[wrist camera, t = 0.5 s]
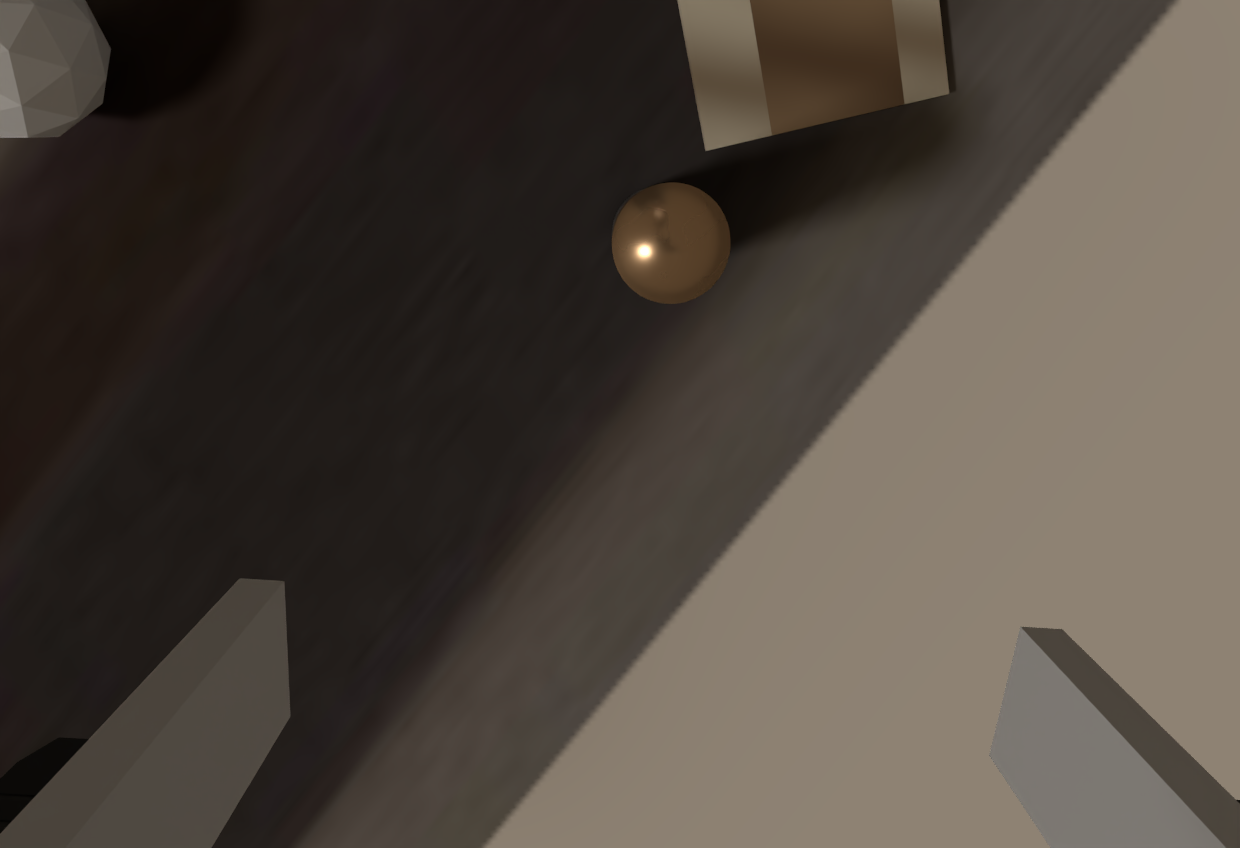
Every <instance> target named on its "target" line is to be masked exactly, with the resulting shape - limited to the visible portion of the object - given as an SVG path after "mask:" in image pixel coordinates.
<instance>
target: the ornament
mask: <svg viewBox="0 0 1240 848" xmlns="http://www.w3.org/2000/svg"><path fill="white" fill-rule="evenodd" d="M110 52H111V48H110V46H109V44H108V42H107V40H106V38H105V36H104V35H103V33H102V31H101V29H100V27H99V25H98V23H97V21H96V19H95V17H94V15H93V14H92V12H91V10H90V8H89V6H88V4H87V2H86V0H0V138H34V137H60V136H61V135H62V134H64V133H65V132H66V131H67V130H69V129H70V128H71V127H73V126H74V125H75V124H77V123H78V122H79V121H80V120H82V119H83V118H84V117H86V116H87V115H88V114H90V113H91V112H92V111H94V110H95V109H96V108H97V107H99V106H100V105H101V104H103V98H104V92H105V85H106V78H107V72H108V65H109V59H110Z"/></svg>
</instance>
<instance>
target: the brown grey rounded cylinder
mask: <svg viewBox="0 0 1240 848" xmlns="http://www.w3.org/2000/svg"><path fill="white" fill-rule="evenodd" d="M612 252H613V258H614V261H615V265H616V267H617V270H618V272H619V274H620V275H621V277H622V279H623V280H624V281H625V282H626V284H627V285H628V286H629V287H630V288H631V289H632V290H633V291H635V292H636V293H637V294H639V295H641V296H642V297H644V298H646V299H649V300H651V301H654V302H658V303H665V304H676V303H682V302H686V301H689V300H692V299H694V298H697V297H698V296H700V295H702V294H703V293H705V292H706V291H707V290H709V289H710V288H711V287H712V286H713V285H714V284H715V283H716V281H717V280H718V279H719V277H720V276H721V274H722V273H723V271H724V269H725V266H726V264H727V261H728V257H729V253H730V231H729V227H728V223H727V220H726V218H725V215H724V214H723V212H722V210H721V208H720V207H719V206H718V204H717V203H716V202H715V201H714V200H713V199H712V198H711V197H710V196H709V195H707V194H706V193H705V192H703V191H702V190H700V189H698V188H696V187H693V186H691V185H687V184H683V183H675V182H671V183H661V184H657V185H654V186H651V187H648V188H645V189H642V190H640V191H638V192H635V193H634V194H632V195H631V196H629V197H628V198H627V199H626V200H625V201H624V202H623V203H622V204H621V206H620V207H619V209H618V211H617V213H616V215H615V218H614V221H613V226H612Z"/></svg>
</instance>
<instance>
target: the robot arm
mask: <svg viewBox="0 0 1240 848" xmlns="http://www.w3.org/2000/svg"><path fill="white" fill-rule="evenodd" d="M289 717H290V699H289V677H288V654H287V632H286V610H285V587H284V581H273V580H256V579H239V580H238V581H237V582H236V583H235V584H234V585H233V586H232V587H231V588H230V589H229V591H228V592H227V593H226V594H225V595H224V596H223V597H222V598H221V599H220V600H219V601H218V602H217V603H216V604H215V605H214V607H213V608H212V609H211V610H210V611H209V612H208V613H207V614H206V615H205V616H204V617H203V618H202V619H201V620H200V621H199V623H198V624H197V625H196V626H195V627H194V628H193V629H192V630H191V631H190V632H189V633H188V634H187V635H186V636H185V637H184V638H183V640H182V641H181V642H180V643H179V644H178V645H177V646H176V647H175V648H174V649H173V650H172V651H171V652H170V653H169V654H168V656H167V657H166V658H165V659H164V660H163V661H162V662H161V663H160V664H159V665H158V666H157V667H156V668H155V669H154V670H153V672H152V673H151V674H150V675H149V676H148V677H147V678H146V679H145V680H144V681H143V682H142V683H141V684H140V685H139V686H138V688H137V689H136V690H135V691H134V692H133V693H132V694H131V695H130V696H129V697H128V698H127V699H126V700H125V701H124V702H123V703H122V705H121V706H120V707H119V708H118V709H117V710H116V711H115V712H114V713H113V714H112V715H111V716H110V717H109V718H108V719H107V721H106V722H105V723H104V724H103V725H102V726H101V727H100V728H99V729H98V730H97V731H96V732H95V733H94V734H93V735H92V737H91V738H90V739H76V738H57V739H56V740H54V741H52V742H51V743H49V744H47V745H46V746H44V747H42V748H41V749H39V750H37V751H36V752H34V753H32V754H30V755H29V756H27V757H25V758H24V759H22V760H20V761H19V762H17V763H16V764H15V765H14V766H13V767H12V768H11V769H10V770H9V771H8V772H7V773H6V774H5V775H4V776H3V777H2V778H1V779H0V848H211V847H212V846H213V844H214V842H215V841H216V839H217V837H218V836H219V834H220V832H221V831H222V829H223V827H224V826H225V824H226V822H227V821H228V819H229V817H230V816H231V814H232V812H233V811H234V809H235V807H236V806H237V804H238V802H239V801H240V799H241V797H242V796H243V794H244V792H245V791H246V789H247V787H248V786H249V784H250V782H251V781H252V779H253V777H254V776H255V774H256V772H257V771H258V769H259V767H260V766H261V764H262V762H263V761H264V759H265V757H266V756H267V754H268V752H269V751H270V749H271V747H272V746H273V744H274V742H275V741H276V739H277V737H278V736H279V734H280V732H281V731H282V729H283V727H284V726H285V724H286V722H287V721H288V719H289ZM989 756H990V757H991V759H992V760H993V762H994V763H995V765H996V766H997V768H998V769H999V771H1000V772H1001V774H1002V775H1003V777H1004V778H1005V780H1006V781H1007V783H1008V784H1009V786H1010V787H1011V789H1012V790H1013V792H1014V793H1015V794H1016V796H1017V798H1018V799H1019V801H1020V802H1021V804H1022V805H1023V807H1024V808H1025V810H1026V811H1027V813H1028V814H1029V816H1030V817H1031V819H1032V820H1033V822H1034V823H1035V825H1036V826H1037V828H1038V829H1039V831H1040V832H1041V834H1042V835H1043V837H1044V838H1045V840H1046V841H1047V843H1048V844H1049V846H1050V847H1051V848H1240V800H1235V799H1234V798H1233V797H1232V796H1231V795H1230V794H1229V793H1228V792H1227V791H1226V790H1225V789H1224V788H1223V787H1222V786H1221V785H1220V784H1219V783H1218V782H1217V781H1216V780H1215V779H1214V778H1213V777H1212V776H1211V775H1210V774H1209V773H1208V772H1207V771H1206V770H1205V769H1204V768H1203V767H1202V766H1201V765H1200V764H1199V763H1198V762H1197V761H1196V760H1195V759H1194V758H1193V757H1192V756H1191V755H1190V754H1188V753H1187V751H1186V750H1184V749H1183V748H1182V747H1181V746H1180V745H1179V744H1178V743H1177V742H1176V741H1175V740H1174V739H1173V738H1172V737H1171V736H1170V735H1169V734H1168V733H1167V732H1166V731H1165V730H1164V729H1163V728H1162V727H1161V726H1160V725H1159V724H1158V723H1157V722H1156V721H1155V720H1154V719H1153V718H1152V717H1151V716H1150V715H1149V714H1148V713H1147V712H1146V711H1145V710H1144V709H1143V708H1142V707H1141V706H1139V704H1138V703H1137V702H1136V701H1135V700H1134V699H1133V698H1132V697H1130V696H1129V695H1128V694H1127V693H1126V692H1125V691H1124V690H1123V689H1122V688H1121V687H1120V686H1119V685H1118V684H1117V683H1116V682H1115V681H1114V680H1113V679H1112V678H1111V677H1110V676H1109V675H1108V674H1107V673H1106V672H1105V671H1104V670H1103V669H1102V668H1101V667H1100V666H1099V665H1098V664H1097V663H1096V662H1095V661H1094V660H1093V659H1092V658H1091V657H1090V656H1089V655H1088V654H1087V653H1086V652H1085V651H1084V650H1082V648H1081V647H1079V646H1078V645H1077V644H1076V643H1075V642H1074V641H1073V640H1072V639H1071V638H1070V637H1069V636H1068V635H1067V634H1066V633H1065V632H1064V631H1063V630H1062V629H1048V628H1032V627H1031V628H1030V627H1020V631H1019V635H1018V639H1017V643H1016V648H1015V652H1014V656H1013V660H1012V664H1011V668H1010V672H1009V677H1008V681H1007V685H1006V689H1005V693H1004V697H1003V701H1002V706H1001V710H1000V714H999V718H998V722H997V726H996V730H995V735H994V739H993V743H992V747H991V751H990V755H989Z"/></svg>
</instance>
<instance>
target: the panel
mask: <svg viewBox="0 0 1240 848" xmlns="http://www.w3.org/2000/svg"><path fill="white" fill-rule="evenodd" d="M677 1H678V6H679V12H680V17H681V22H682V28H683V33H684V39H685V44H686V49H687V55H688V60H689V65H690V71H691V76H692V81H693V87H694V92H695V98H696V103H697V108H698V114H699V119H700V124H701V130H702V135H703V140H704V146H705V151H709V150H713V149H717V148H721V147H726V146H730V145H734V144H738V143H743V142H747V141H751V140H755V139H760V138H764V137H768V136H772V135H777V134H781V133H785V132H789V131H794V130H798V129H802V128H806V127H811V126H815V125H819V124H824V123H828V122H832V121H836V120H841V119H845V118H849V117H853V116H858V115H862V114H866V113H870V112H875V111H879V110H883V109H887V108H892V107H896V106H900V105H904V104H909V103H913V102H917V101H921V100H926V99H930V98H934V97H938V96H943V95H947V94H949V86H948V77H947V68H946V58H945V49H944V40H943V31H942V22H941V12H940V3H939V0H677Z"/></svg>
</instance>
